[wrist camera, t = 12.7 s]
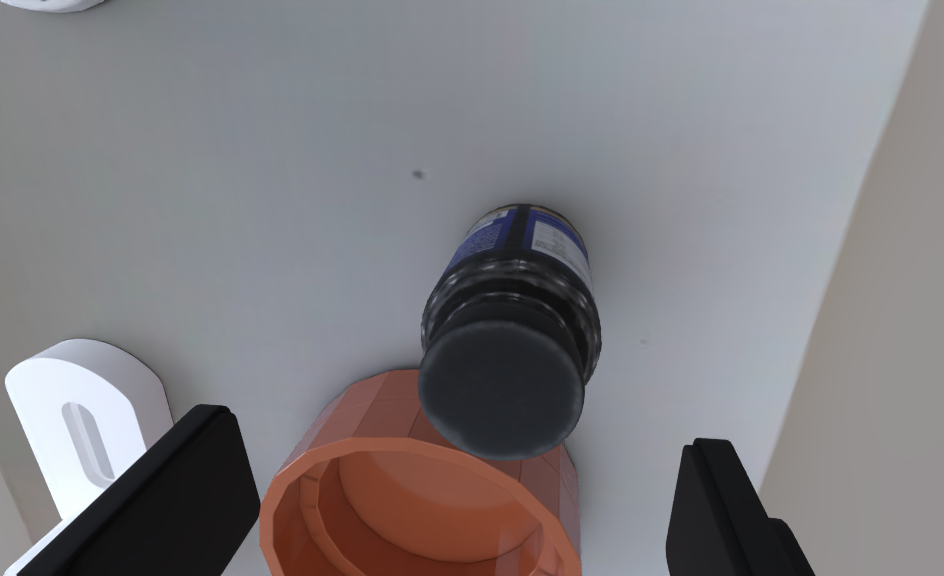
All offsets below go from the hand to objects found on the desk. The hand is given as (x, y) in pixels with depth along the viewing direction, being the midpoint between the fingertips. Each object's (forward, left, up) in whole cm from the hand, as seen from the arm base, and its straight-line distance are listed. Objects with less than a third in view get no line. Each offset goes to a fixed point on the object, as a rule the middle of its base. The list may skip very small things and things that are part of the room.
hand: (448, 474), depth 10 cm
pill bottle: (+1, 0, -15) cm, 15 cm away
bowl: (+4, -15, -15) cm, 21 cm away
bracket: (-15, -28, -15) cm, 35 cm away
